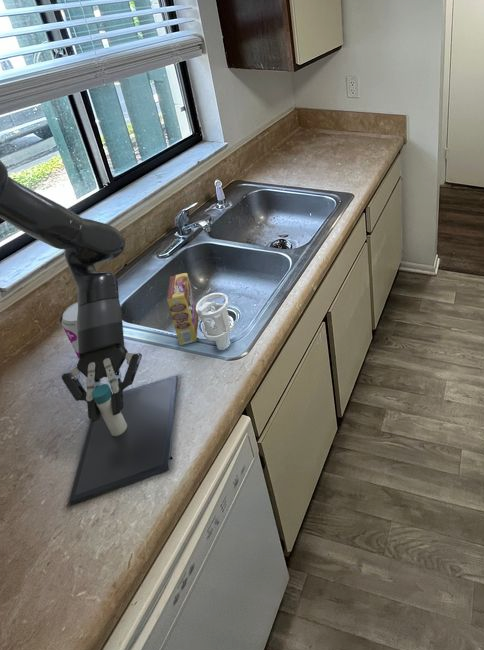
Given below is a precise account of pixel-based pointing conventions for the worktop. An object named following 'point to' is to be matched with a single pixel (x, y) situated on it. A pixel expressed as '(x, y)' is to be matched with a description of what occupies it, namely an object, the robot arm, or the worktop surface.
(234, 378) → the worktop surface
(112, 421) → the teal capped white tube
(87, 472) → the tablet
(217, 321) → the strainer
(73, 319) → the supplement can
